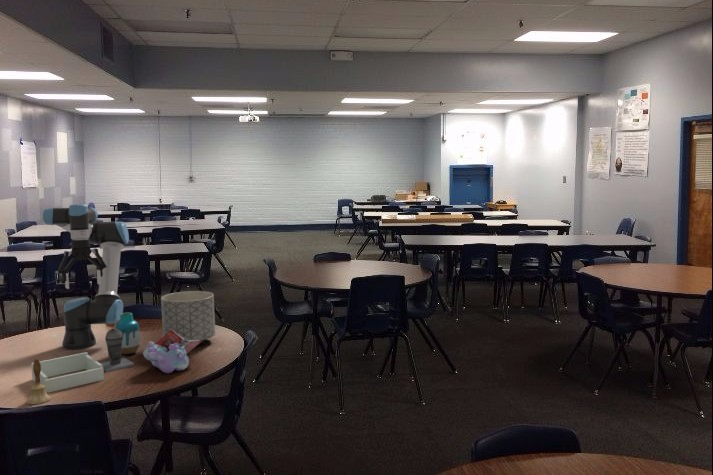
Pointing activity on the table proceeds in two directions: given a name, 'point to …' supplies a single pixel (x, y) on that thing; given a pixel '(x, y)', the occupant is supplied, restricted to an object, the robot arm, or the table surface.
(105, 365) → the slate tile
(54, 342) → the table surface
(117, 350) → the beverage cup
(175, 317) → the planter
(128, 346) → the vase
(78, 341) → the robot arm
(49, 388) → the frame
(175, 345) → the pastel lumpy cloud blob
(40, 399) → the hand bell
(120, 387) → the table surface
